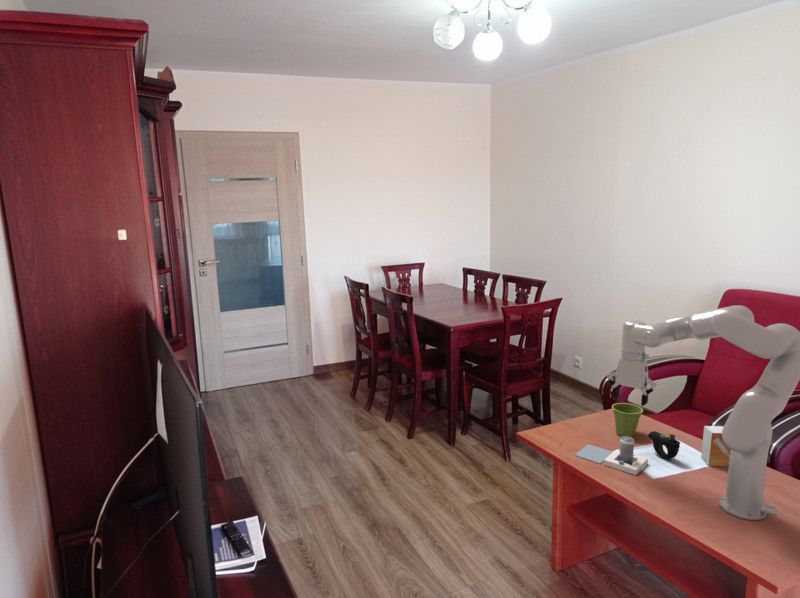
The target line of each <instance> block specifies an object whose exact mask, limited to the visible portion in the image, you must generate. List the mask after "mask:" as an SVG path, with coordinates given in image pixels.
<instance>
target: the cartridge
mask: <svg viewBox="0 0 800 598" xmlns="http://www.w3.org/2000/svg"><path fill="white" fill-rule="evenodd" d="M619 442H620V445H619V446H620V447H619V450H620V458H619V460H622V461H624V463H626V464H630V465H633V464H634V462H633V453H634V450H635V449H634V447H635V446H634V445H635V438H634V437H633V436H631V437H629V436H620V440H619ZM619 460H618V461H619Z"/></svg>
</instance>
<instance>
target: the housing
mask: <svg viewBox="0 0 800 598" xmlns="http://www.w3.org/2000/svg"><path fill="white" fill-rule="evenodd" d="M612 452H613V453H611V454H610V455H609V456H608V457H607V458H606V459H604V461H603V465H604V466H607V467H608V468H612V469H615V470H619V471H621V472H624V473H628V474H630V475H634V476H637V475H638V474H639V473H640V472H641V471H642V470H643V469H644V468H645V467H646V466H647V465H648V464H649V462H648V461H649V458H647V457H645V456H640V455H638V454H635V453H634V452H633V464H632V465H630V464H626V463H624V461H622V460H619V458H620V449H619V448H618V449H617V448H616V449H615V450H614V451H612ZM634 462H635V463H634ZM647 463H648V464H647ZM646 464H647V465H646ZM645 465H646V466H645ZM644 466H645V467H644ZM643 467H644V468H643ZM642 468H643V469H642ZM641 469H642V470H641ZM640 470H641V471H640ZM639 471H640V472H639Z"/></svg>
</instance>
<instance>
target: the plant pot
mask: <svg viewBox="0 0 800 598" xmlns="http://www.w3.org/2000/svg"><path fill="white" fill-rule="evenodd" d="M611 408H612V410H613V414H614V425H615V433H616V435H619V436H620V437H622V436H629V437H635V436H636V432H637V428H638V425H639V421H640V418H641V416H642V414H643V412H644V409H643V408H642V407H641V406H638V405H636V404H633V403H627V402H617V403H614V404H612V406H611Z"/></svg>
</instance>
